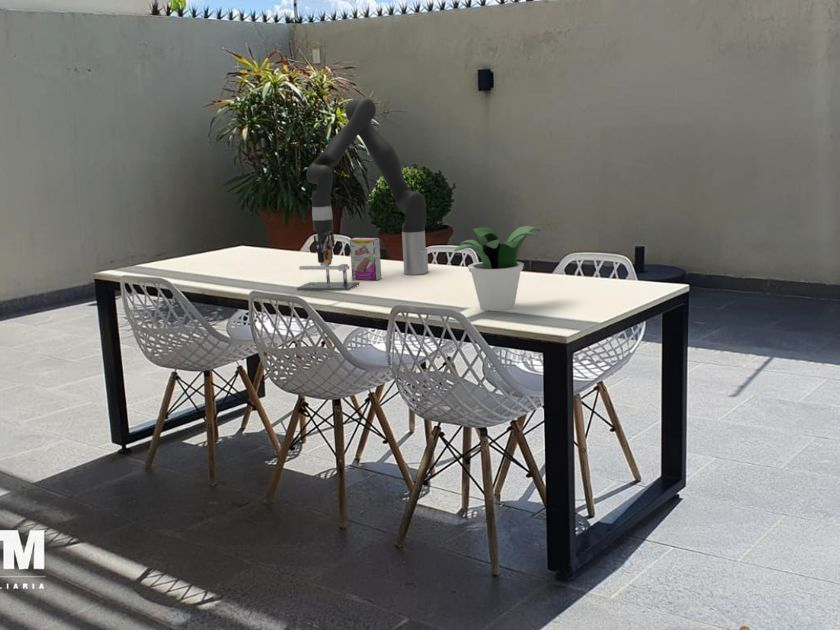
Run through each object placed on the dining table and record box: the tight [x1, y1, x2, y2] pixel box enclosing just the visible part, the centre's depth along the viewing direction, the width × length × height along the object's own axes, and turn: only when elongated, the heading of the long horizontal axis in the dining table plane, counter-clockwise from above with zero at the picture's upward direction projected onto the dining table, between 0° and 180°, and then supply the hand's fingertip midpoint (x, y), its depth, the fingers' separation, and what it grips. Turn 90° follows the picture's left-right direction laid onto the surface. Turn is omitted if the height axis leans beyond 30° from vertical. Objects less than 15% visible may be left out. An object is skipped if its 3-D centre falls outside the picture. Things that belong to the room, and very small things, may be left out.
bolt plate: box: [296, 263, 361, 291], centre depth 377 cm, size 21×12×9 cm, turn 73°
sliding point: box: [319, 248, 333, 284], centre depth 375 cm, size 4×4×13 cm
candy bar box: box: [349, 237, 382, 281], centre depth 390 cm, size 11×5×16 cm, turn 65°
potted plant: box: [453, 225, 541, 312], centre depth 323 cm, size 32×35×26 cm
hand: (325, 260), depth 374 cm, fingers open, 8 cm apart
